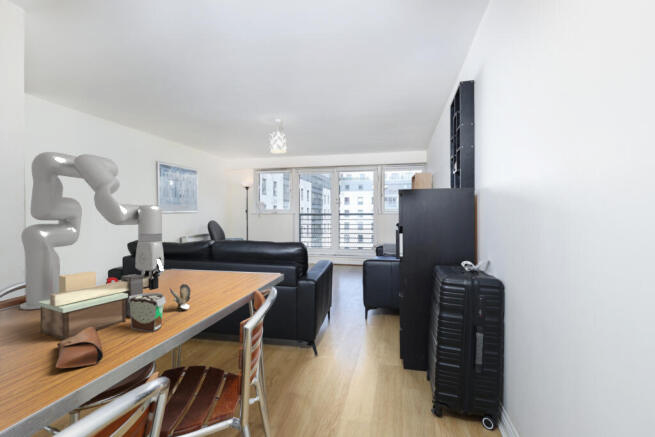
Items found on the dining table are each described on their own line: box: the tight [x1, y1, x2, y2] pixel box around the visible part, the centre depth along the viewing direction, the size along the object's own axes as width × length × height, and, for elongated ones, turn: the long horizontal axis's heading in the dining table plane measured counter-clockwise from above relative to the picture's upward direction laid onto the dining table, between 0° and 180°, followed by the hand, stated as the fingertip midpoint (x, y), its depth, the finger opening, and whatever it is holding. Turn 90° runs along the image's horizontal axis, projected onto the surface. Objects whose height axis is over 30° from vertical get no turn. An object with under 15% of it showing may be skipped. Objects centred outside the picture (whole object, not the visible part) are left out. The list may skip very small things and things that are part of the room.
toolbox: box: [40, 273, 144, 341], centre depth 94 cm, size 14×22×14 cm, turn 154°
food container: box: [128, 292, 166, 333], centre depth 91 cm, size 12×6×10 cm, turn 71°
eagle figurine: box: [169, 283, 192, 312], centre depth 107 cm, size 8×7×9 cm
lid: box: [38, 270, 128, 313], centre depth 91 cm, size 15×17×8 cm
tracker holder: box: [105, 276, 119, 284], centre depth 118 cm, size 12×4×10 cm, turn 168°
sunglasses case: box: [55, 327, 104, 369], centre depth 73 cm, size 18×7×7 cm
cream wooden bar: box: [50, 276, 151, 307], centre depth 95 cm, size 3×30×3 cm, turn 154°
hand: (150, 288), depth 107 cm, fingers closed on cream wooden bar, 3 cm apart
